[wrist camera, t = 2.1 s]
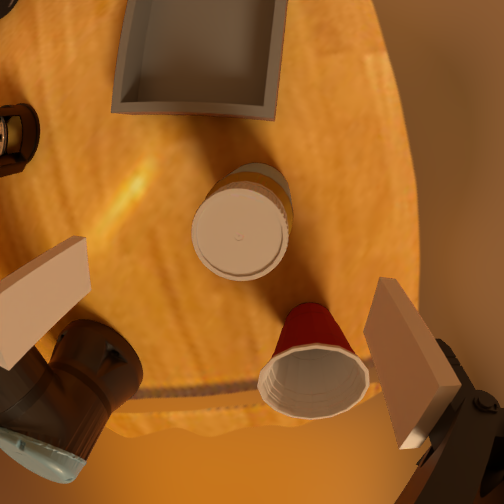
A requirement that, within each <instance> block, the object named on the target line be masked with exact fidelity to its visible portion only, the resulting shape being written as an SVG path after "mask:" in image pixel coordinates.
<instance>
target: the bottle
mask: <svg viewBox="0 0 504 504" xmlns="http://www.w3.org/2000/svg"><path fill="white" fill-rule="evenodd" d="M292 222H293V209H292V202H291V195H290V190H289V186H288V183H287V181H286V180H285V178H284V176H283V175H282V174H281V173H280V172H279V171H278V170H277V169H275V168H274V167H272V166H270V165H267V164H264V163H249V164H245V165H243V166H240V167H239V168H237V169H236V170H234V171H233V172H231V173H230V174H228V175H227V176H226V177H224V178H223V179H221V180H220V181H219V182H217V183H216V184H215V185H214V187H213V188H212V189H211V190H210V192H209V193H208V194H207V196H206V199H205V201H204V202H203V203H202V205H200V207H199V209H198V210H197V211H196V215H195V216H194V220H193V224H192V242H193V246H194V249H195V251H196V253H197V255H198V257H199V259H200V260H201V261H202V263H203V264H204V265H205V266H206V267H207V268H208V269H209V270H211V271H212V272H213V273H215V274H217V275H219V276H221V277H223V278H226V279H229V280H234V281H249V280H254V279H257V278H260V277H262V276H264V275H266V274H267V273H269V272H270V271H272V270H273V269H274V268H275V267H276V266H277V265H278V264H279V262H280V261H281V260H282V257H283V256H284V253H285V252H286V247H287V246H288V240H289V239H288V237H289V234H290V232H291V229H292Z"/></svg>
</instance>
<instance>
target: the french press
mask: <svg viewBox="0 0 504 504" xmlns="http://www.w3.org/2000/svg"><path fill="white" fill-rule="evenodd" d="M12 116H20V119H21V124H22V143H21V147H20V151H19V152H15V153H9V154H8V153H7V151H6V149H7V143H8V127H7V123H8V121H9V119H10V118H11V117H12ZM39 138H40V124H39V119H38V116H37V113H36V112H35V110H34V109H33V108H32V107H31V106H30V105H28V104H24V103H20V104H16V105H4V106H2V107H0V178H1V177H4V176H8V175H12V174H16V173H20V172H22V171H23V170H24V168H25V166H26V164H28V163H29V162H30V161H31V159H32V158H33V156H34V154H35V152H36V150H37V147H38V144H39Z"/></svg>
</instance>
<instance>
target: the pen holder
mask: <svg viewBox="0 0 504 504" xmlns="http://www.w3.org/2000/svg"><path fill="white" fill-rule="evenodd" d="M17 1H18V0H0V19H1V18H2V17H4V16H5V15H7V14H8V13H9V12H10V11H11V9H12V8H13V7H14V6H15V4H16V3H17Z"/></svg>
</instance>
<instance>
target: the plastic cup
mask: <svg viewBox="0 0 504 504" xmlns="http://www.w3.org/2000/svg"><path fill="white" fill-rule="evenodd" d="M257 387H258V389H259V392H260V394H261V397H262V399H263V400H264V401H265V402H266V403H267V404H268V405H269V406H270V407H272V408H273V409H274V410H275V411H277V412H280V413H282V414H285V415H287V416H290V417H293V418H301V419H310V420H312V419H320V418H328V417H333V416H335V415H338V414H340V413H343V412H345V411H348V410H349V409H351V408H352V407H353V406H354V405H356V404H357V403H358V402H359V401H360V400H362V398H363V397H364V395H365V393H366V391H367V389H368V387H369V372H368V369H367V368H366V366H365V365H364V364H363V362H362V361H361V360H360V358H359V357H358V356H357V355H356V354H355V352H354V351H353V350H352V348H351V347H350V345H349V343H348V341H347V339H346V338H345V336H344V334H343V332H342V330H341V329H340V327H339V325H338V324H337V323H336V321H335V320H334V318H333V316H332V315H331V314H330V312H329V311H328V309H326V308H325V307H323V306H322V305H320V304H317V303H310V302H309V303H304V304H300V305H298V306H297V307H295V308H293V309H292V311H291V312H290V313H289V315H288V316H287V318H286V321H285V324H284V327H283V328H282V331H281V334H280V337H279V340H278V343H277V346H276V349H275V352H274V354H273V355H272V358H271V360H270V361H269V362H268V363H267V364H266V365H265V366H264V367H263V369H262V370H261V371H260V376H259V380H258V385H257Z"/></svg>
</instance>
